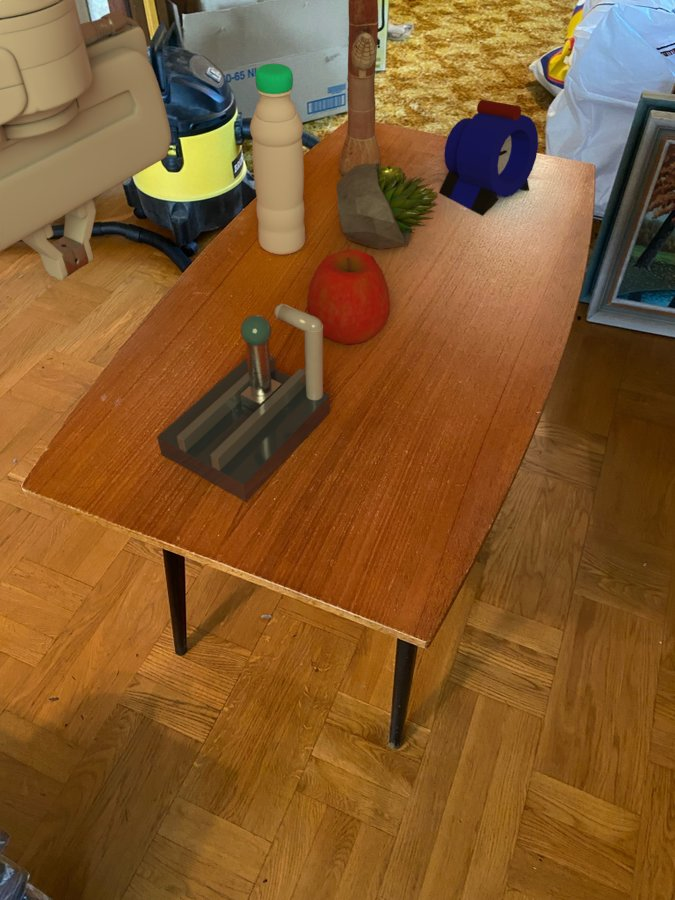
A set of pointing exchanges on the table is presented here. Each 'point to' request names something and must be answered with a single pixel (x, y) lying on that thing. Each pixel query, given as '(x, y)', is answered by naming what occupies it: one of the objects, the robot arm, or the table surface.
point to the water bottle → (278, 162)
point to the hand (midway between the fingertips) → (71, 268)
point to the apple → (349, 297)
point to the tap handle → (257, 362)
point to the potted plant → (381, 205)
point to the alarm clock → (489, 156)
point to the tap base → (252, 419)
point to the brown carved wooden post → (361, 87)
